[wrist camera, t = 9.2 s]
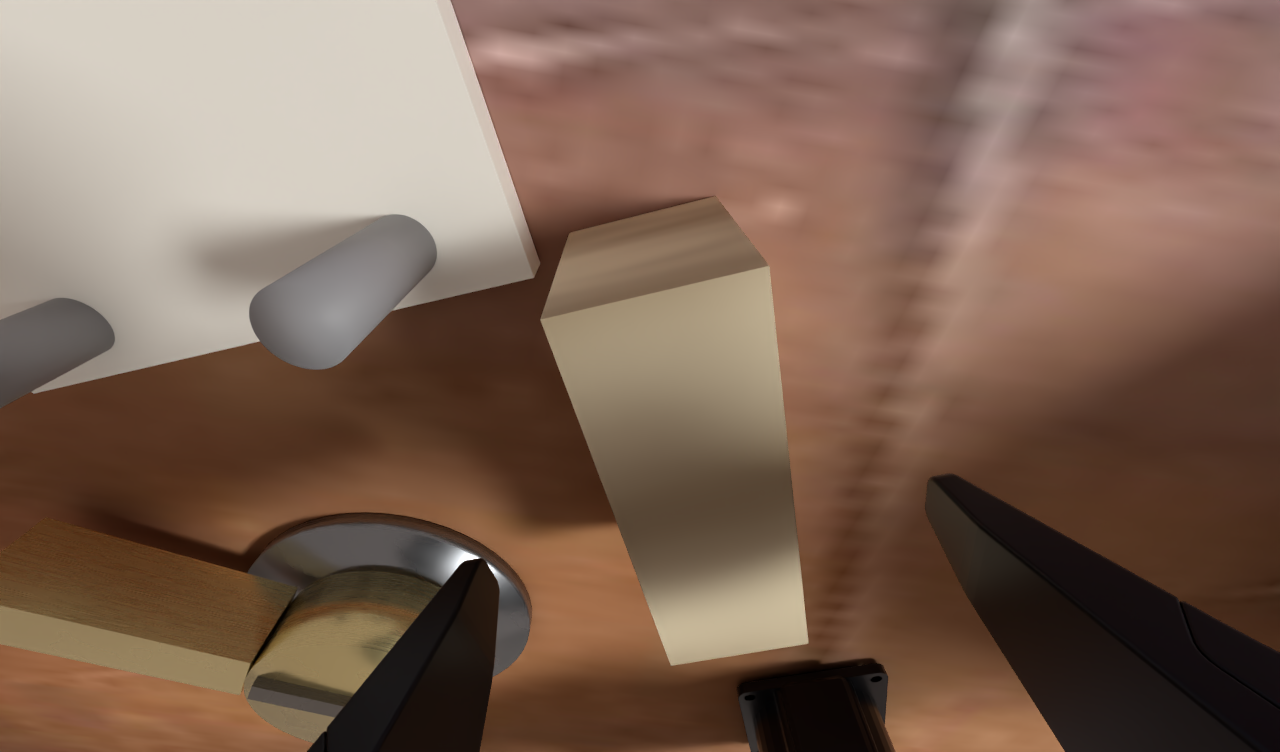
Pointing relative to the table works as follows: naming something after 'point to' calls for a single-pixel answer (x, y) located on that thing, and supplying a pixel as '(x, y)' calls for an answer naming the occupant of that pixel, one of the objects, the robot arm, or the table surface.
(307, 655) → the brass lever handle
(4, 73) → the peg rack
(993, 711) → the table surface
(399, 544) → the base
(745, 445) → the beech bar
